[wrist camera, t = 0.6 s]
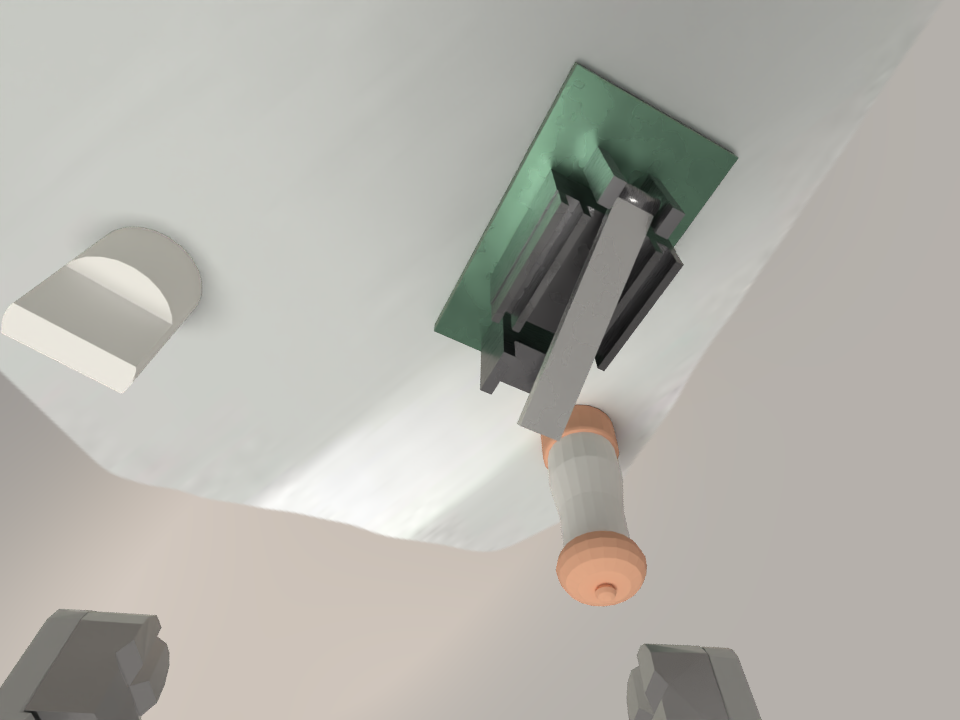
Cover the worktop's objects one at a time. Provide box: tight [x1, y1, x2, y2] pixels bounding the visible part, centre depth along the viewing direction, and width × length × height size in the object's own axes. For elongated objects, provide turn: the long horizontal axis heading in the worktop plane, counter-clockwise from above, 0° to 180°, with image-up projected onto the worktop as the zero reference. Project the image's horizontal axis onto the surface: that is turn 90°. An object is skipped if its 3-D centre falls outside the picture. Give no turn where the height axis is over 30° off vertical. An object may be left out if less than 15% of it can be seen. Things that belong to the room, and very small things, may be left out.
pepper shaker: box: [541, 405, 647, 606], centre depth 54 cm, size 7×7×19 cm
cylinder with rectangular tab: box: [1, 227, 202, 394], centre depth 48 cm, size 9×9×12 cm
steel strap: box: [517, 182, 661, 442], centre depth 42 cm, size 18×3×1 cm
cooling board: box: [434, 62, 738, 394], centre depth 48 cm, size 24×14×9 cm, turn 154°
